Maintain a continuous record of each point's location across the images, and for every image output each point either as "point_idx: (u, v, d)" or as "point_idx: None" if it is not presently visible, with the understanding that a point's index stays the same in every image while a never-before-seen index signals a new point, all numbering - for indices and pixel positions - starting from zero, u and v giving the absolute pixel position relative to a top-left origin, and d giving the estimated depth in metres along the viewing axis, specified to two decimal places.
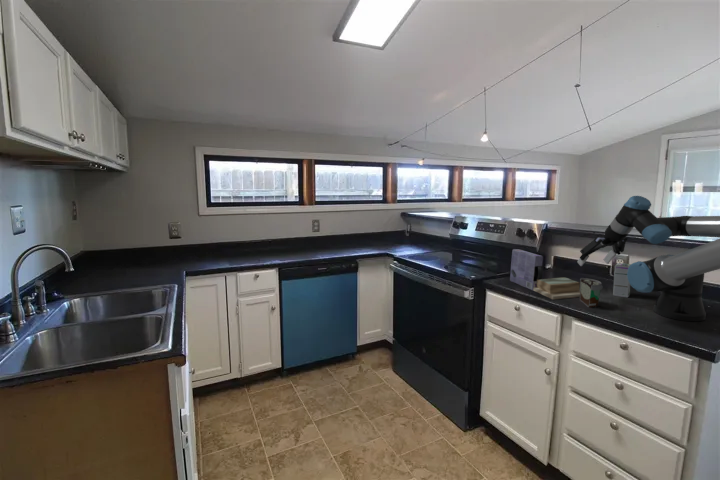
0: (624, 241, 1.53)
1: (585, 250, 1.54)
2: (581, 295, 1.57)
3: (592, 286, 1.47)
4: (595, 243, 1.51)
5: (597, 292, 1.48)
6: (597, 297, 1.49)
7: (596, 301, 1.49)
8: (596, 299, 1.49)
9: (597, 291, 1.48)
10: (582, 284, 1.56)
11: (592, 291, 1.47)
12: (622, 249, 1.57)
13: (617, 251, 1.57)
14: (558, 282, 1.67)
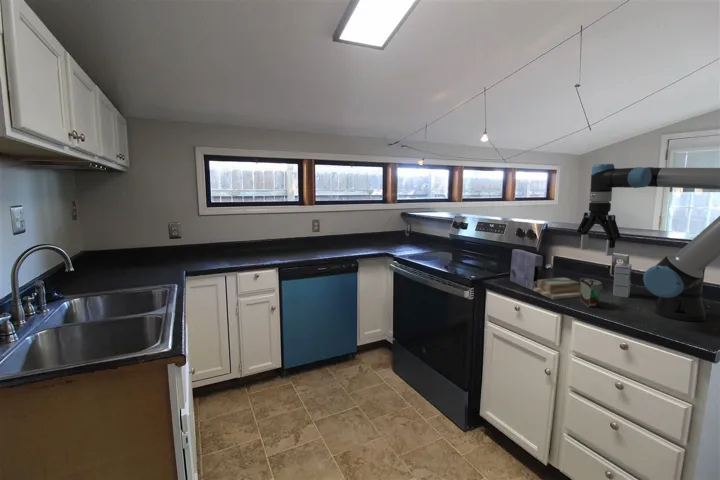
0: None
1: (617, 233, 1.39)
2: (581, 295, 1.57)
3: (592, 286, 1.47)
4: (614, 221, 1.40)
5: (597, 292, 1.48)
6: (597, 297, 1.49)
7: (596, 301, 1.49)
8: (596, 299, 1.49)
9: (597, 291, 1.48)
10: (582, 284, 1.56)
11: (592, 291, 1.47)
12: None
13: None
14: (558, 282, 1.67)
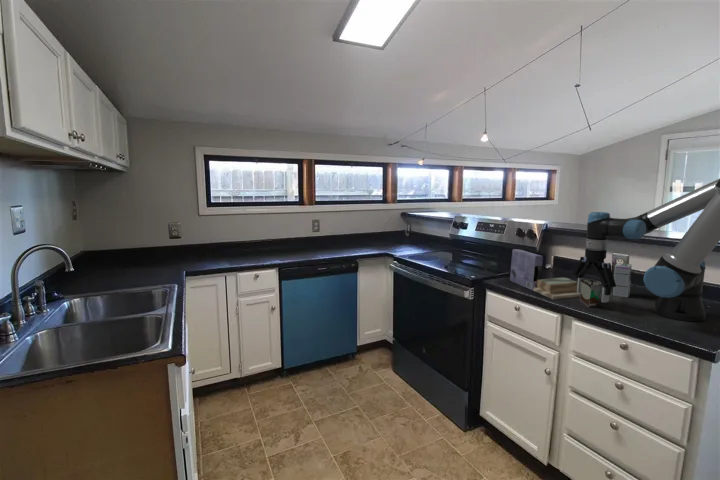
0: None
1: (612, 281, 1.42)
2: (581, 295, 1.57)
3: (592, 286, 1.47)
4: (609, 269, 1.44)
5: (598, 292, 1.48)
6: (597, 297, 1.49)
7: (596, 301, 1.49)
8: (596, 299, 1.49)
9: (597, 291, 1.48)
10: (582, 284, 1.56)
11: (592, 291, 1.47)
12: None
13: None
14: (558, 282, 1.67)
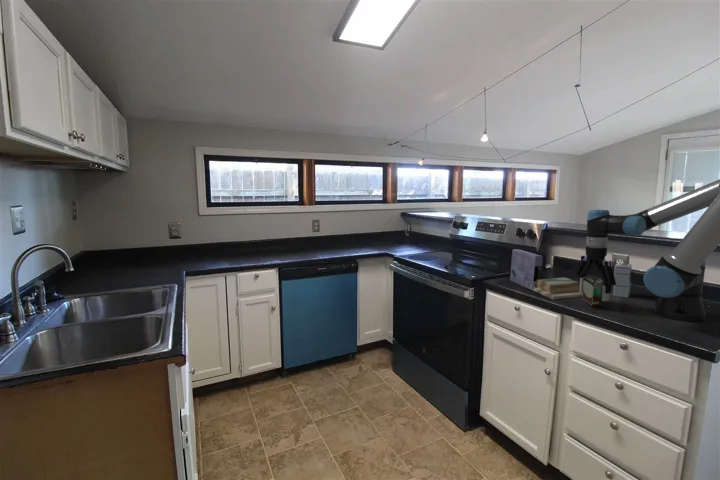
0: None
1: (613, 279, 1.42)
2: (584, 294, 1.55)
3: (595, 284, 1.45)
4: (610, 267, 1.43)
5: (600, 290, 1.47)
6: (600, 295, 1.47)
7: (599, 299, 1.48)
8: (599, 297, 1.47)
9: (600, 289, 1.46)
10: (585, 282, 1.55)
11: (595, 289, 1.46)
12: None
13: None
14: (558, 282, 1.67)
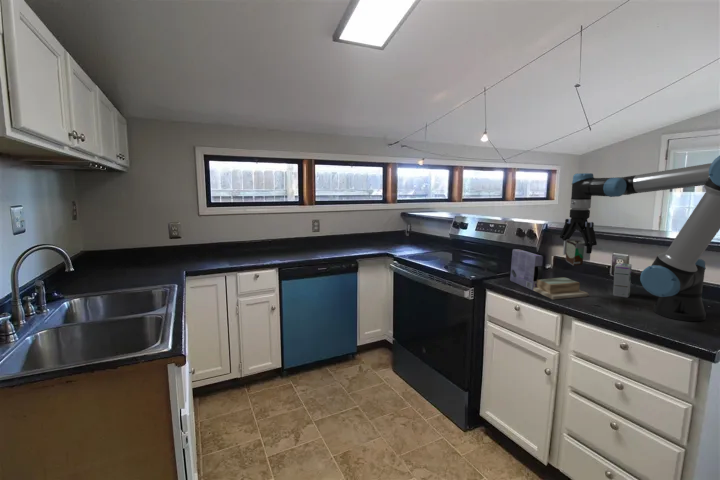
0: None
1: (594, 239, 1.49)
2: (567, 255, 1.62)
3: (577, 244, 1.52)
4: (592, 228, 1.50)
5: (582, 251, 1.53)
6: (581, 255, 1.54)
7: (580, 259, 1.54)
8: (580, 257, 1.54)
9: (581, 249, 1.53)
10: (568, 244, 1.61)
11: (577, 249, 1.52)
12: None
13: None
14: (558, 282, 1.67)
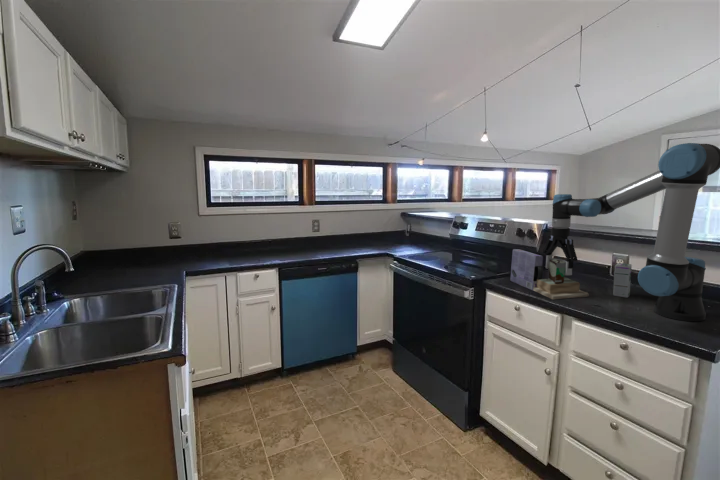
0: None
1: (574, 255, 1.58)
2: (549, 273, 1.72)
3: (557, 264, 1.62)
4: (572, 245, 1.60)
5: (563, 270, 1.64)
6: (562, 274, 1.64)
7: (561, 278, 1.65)
8: (561, 276, 1.64)
9: (562, 269, 1.63)
10: (550, 263, 1.71)
11: (557, 269, 1.63)
12: None
13: None
14: None
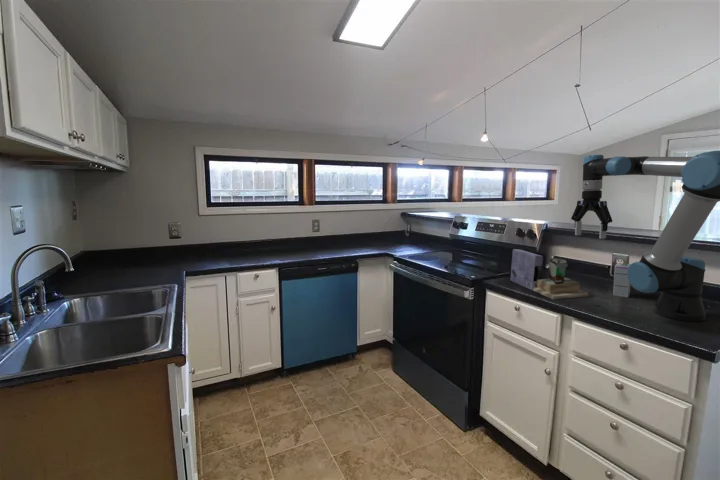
0: None
1: (609, 217, 1.52)
2: (549, 273, 1.72)
3: (557, 264, 1.62)
4: (606, 206, 1.54)
5: (563, 270, 1.64)
6: (562, 274, 1.64)
7: (561, 278, 1.65)
8: (561, 276, 1.64)
9: (562, 269, 1.63)
10: (550, 263, 1.71)
11: (557, 269, 1.63)
12: None
13: None
14: None
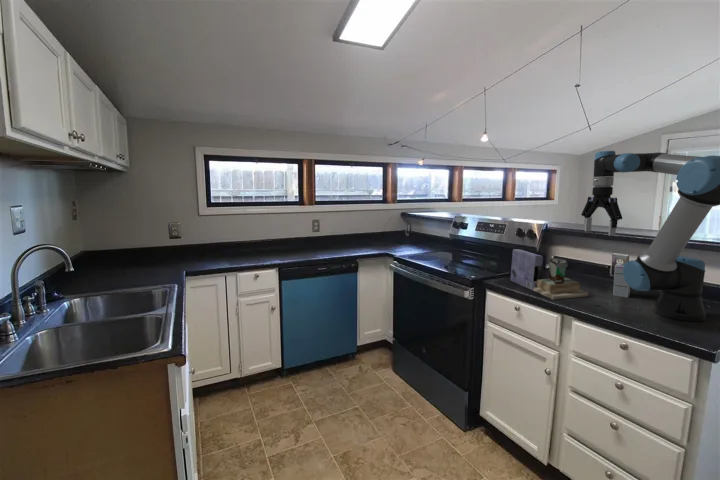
0: None
1: (619, 214, 1.51)
2: (549, 273, 1.72)
3: (557, 264, 1.62)
4: (616, 203, 1.53)
5: (563, 270, 1.64)
6: (562, 274, 1.64)
7: (561, 278, 1.65)
8: (561, 276, 1.64)
9: (562, 269, 1.63)
10: (550, 263, 1.71)
11: (557, 269, 1.63)
12: None
13: None
14: None
